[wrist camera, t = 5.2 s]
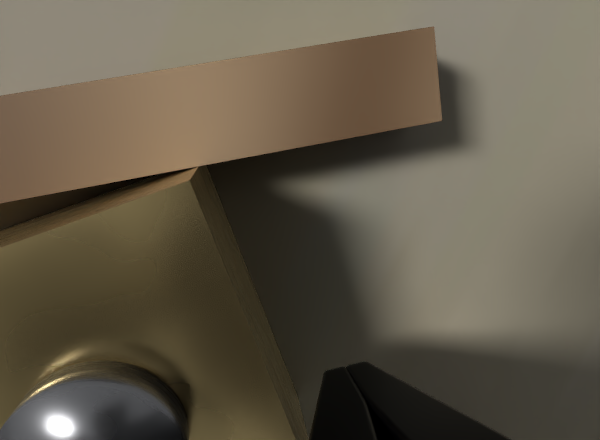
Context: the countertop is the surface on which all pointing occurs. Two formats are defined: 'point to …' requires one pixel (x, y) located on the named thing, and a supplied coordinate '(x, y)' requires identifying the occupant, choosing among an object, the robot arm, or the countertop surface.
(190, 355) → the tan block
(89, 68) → the countertop surface
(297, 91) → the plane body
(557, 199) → the countertop surface
